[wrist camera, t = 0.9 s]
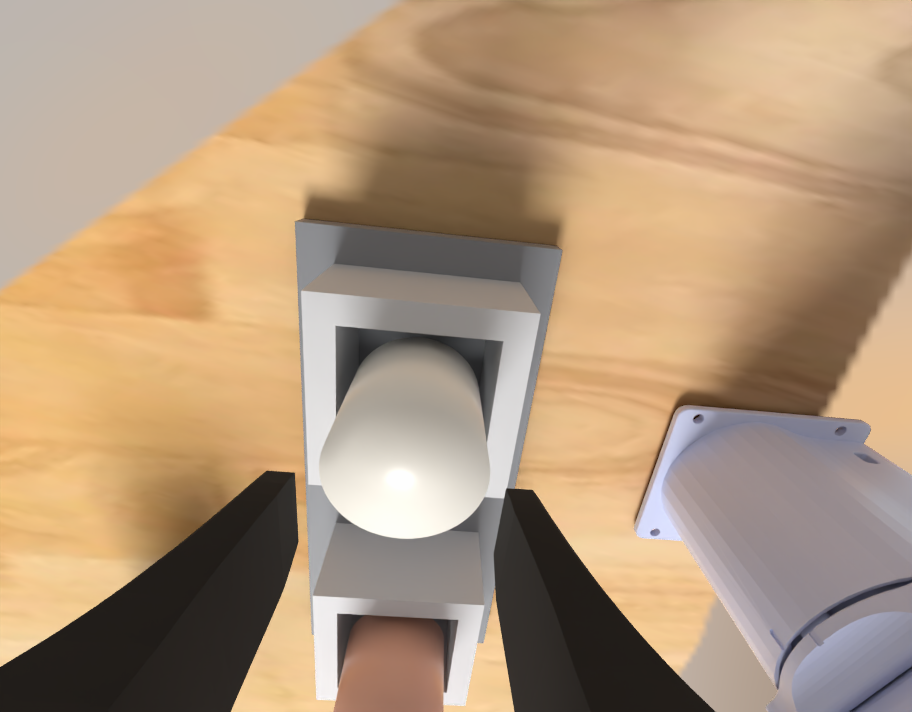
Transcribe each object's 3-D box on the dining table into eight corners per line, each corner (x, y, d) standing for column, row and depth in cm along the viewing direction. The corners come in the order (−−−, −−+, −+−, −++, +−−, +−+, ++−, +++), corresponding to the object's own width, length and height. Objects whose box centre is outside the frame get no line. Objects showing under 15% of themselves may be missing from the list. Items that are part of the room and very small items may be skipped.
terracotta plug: (448, 610, 19) (448, 720, 15) (439, 671, 21) (437, 783, 17) (349, 605, 19) (325, 715, 15) (349, 667, 21) (326, 780, 17)
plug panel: (556, 245, 17) (596, 273, 13) (482, 626, 26) (489, 723, 22) (303, 218, 17) (248, 237, 12) (316, 617, 26) (288, 715, 21)
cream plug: (487, 343, 14) (502, 408, 10) (471, 453, 16) (478, 543, 12) (353, 331, 14) (316, 393, 10) (351, 444, 16) (320, 533, 12)
